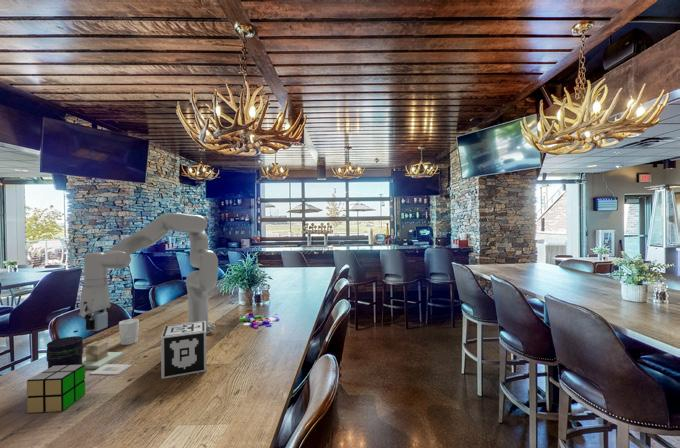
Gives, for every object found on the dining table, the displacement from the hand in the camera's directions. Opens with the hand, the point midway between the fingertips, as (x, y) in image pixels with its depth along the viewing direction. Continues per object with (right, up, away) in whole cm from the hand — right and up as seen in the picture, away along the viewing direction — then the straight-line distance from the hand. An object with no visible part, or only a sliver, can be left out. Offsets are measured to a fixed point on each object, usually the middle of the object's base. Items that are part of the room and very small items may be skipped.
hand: (96, 326), depth 131 cm
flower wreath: (+54, -14, +53) cm, 77 cm away
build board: (0, -14, 0) cm, 14 cm away
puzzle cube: (+11, -14, -31) cm, 36 cm away
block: (+39, -14, -5) cm, 42 cm away
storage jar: (+3, -14, -18) cm, 23 cm away
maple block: (0, -13, 0) cm, 13 cm away
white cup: (0, -14, +21) cm, 26 cm away
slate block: (0, -1, 0) cm, 1 cm away
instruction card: (+12, -14, -8) cm, 20 cm away
